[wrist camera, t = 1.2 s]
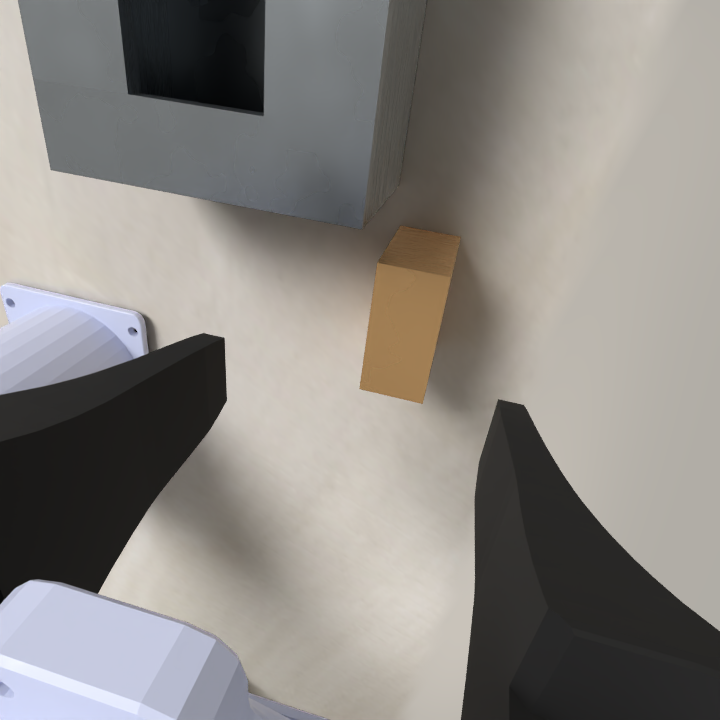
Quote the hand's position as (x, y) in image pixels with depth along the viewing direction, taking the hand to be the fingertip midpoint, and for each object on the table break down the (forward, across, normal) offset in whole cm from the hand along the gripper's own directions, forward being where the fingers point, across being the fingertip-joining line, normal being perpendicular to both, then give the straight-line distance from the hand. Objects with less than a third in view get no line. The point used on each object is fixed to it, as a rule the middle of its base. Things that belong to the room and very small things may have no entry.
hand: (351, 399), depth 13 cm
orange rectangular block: (+10, 0, +1) cm, 10 cm away
